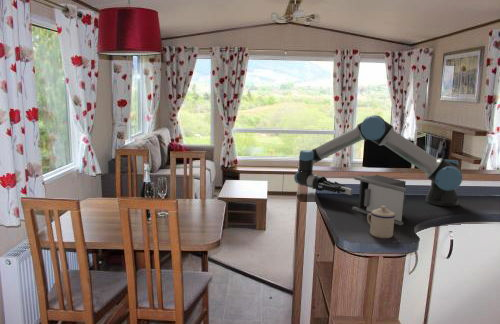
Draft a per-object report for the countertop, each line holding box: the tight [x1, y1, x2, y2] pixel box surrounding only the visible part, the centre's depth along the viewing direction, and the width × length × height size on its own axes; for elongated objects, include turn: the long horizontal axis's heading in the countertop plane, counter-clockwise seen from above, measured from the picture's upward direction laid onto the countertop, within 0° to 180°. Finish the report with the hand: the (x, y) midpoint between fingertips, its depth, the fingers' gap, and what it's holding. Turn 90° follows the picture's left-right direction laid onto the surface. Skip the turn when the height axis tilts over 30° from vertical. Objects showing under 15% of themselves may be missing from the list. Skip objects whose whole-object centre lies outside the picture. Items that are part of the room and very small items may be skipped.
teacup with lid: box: [366, 206, 395, 239], centre depth 158 cm, size 12×9×12 cm
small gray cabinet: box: [351, 174, 407, 226], centre depth 183 cm, size 14×27×16 cm, turn 33°
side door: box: [364, 183, 404, 222], centre depth 176 cm, size 3×18×13 cm, turn 33°
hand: (351, 192), depth 191 cm, fingers closed
